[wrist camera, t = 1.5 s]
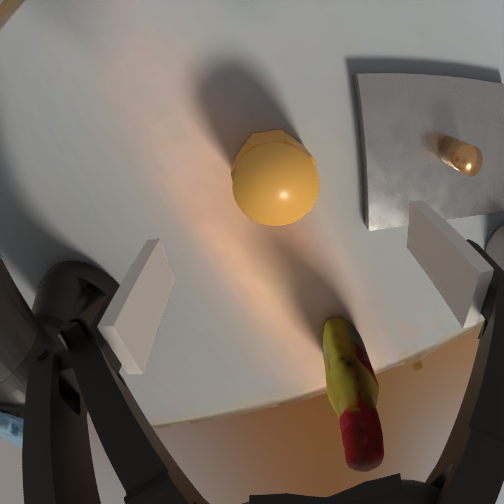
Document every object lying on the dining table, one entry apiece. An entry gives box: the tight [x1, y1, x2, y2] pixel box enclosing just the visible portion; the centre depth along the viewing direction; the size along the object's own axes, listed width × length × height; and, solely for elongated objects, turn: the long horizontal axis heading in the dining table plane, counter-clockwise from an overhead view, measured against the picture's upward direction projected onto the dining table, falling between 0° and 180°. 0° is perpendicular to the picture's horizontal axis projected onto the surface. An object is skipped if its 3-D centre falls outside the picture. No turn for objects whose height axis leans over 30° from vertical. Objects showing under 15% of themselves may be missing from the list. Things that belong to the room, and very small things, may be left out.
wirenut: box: [231, 129, 319, 226], centre depth 26 cm, size 7×7×7 cm
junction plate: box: [353, 73, 504, 231], centre depth 25 cm, size 20×16×6 cm
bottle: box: [323, 318, 384, 472], centre depth 32 cm, size 12×6×20 cm, turn 19°
